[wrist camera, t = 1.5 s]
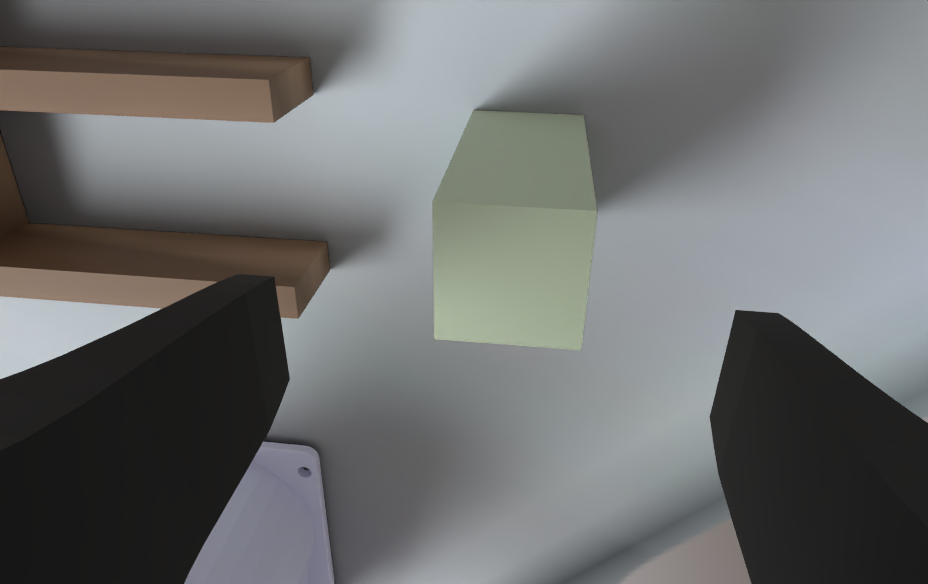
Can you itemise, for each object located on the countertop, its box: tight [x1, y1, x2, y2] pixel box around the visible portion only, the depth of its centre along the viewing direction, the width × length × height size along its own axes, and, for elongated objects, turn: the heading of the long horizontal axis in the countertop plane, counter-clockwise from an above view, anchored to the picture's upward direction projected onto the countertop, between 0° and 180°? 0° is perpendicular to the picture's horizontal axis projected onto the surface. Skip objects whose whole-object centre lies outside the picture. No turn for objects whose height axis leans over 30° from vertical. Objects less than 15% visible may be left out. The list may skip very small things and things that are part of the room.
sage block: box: [433, 110, 597, 350], centre depth 16 cm, size 3×3×7 cm
